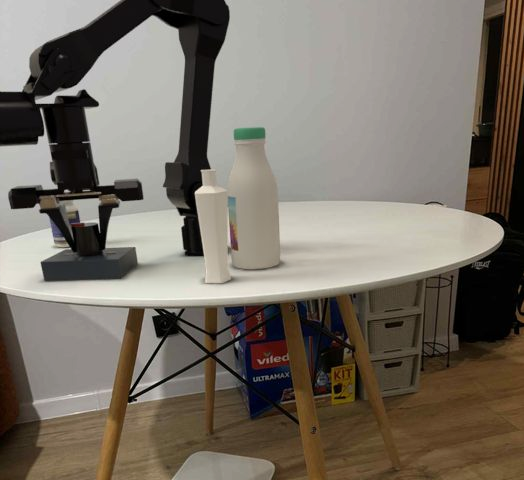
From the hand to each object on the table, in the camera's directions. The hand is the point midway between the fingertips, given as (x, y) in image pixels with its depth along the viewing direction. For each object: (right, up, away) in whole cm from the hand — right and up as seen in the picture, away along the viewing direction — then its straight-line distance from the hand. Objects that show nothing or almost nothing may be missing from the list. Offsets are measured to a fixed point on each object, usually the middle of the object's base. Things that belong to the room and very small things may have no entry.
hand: (89, 250), depth 79 cm
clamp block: (0, -3, +1) cm, 4 cm away
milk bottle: (+26, -2, +2) cm, 26 cm away
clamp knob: (0, 0, 0) cm, 0 cm away
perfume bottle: (+21, -6, -6) cm, 22 cm away
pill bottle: (-12, +6, +24) cm, 28 cm away
